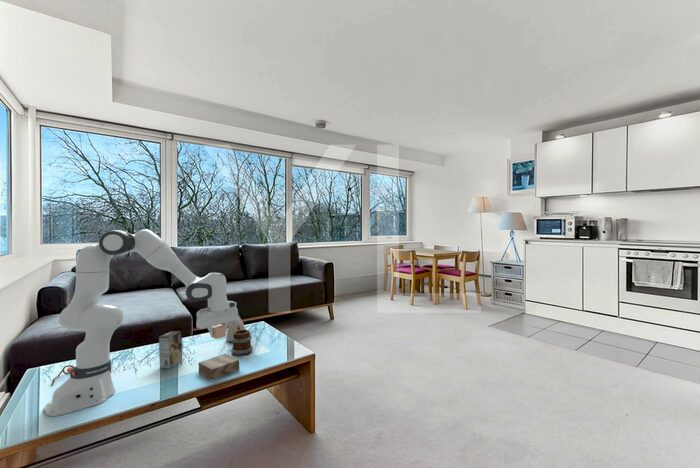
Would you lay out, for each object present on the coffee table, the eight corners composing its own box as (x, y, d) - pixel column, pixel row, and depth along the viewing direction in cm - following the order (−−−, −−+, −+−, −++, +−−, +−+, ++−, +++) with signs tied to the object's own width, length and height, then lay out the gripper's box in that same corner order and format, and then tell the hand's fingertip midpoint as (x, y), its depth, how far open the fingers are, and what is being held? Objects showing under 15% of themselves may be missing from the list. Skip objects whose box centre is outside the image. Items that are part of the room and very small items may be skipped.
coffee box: (172, 360, 173) (171, 330, 173) (182, 361, 172) (182, 331, 172) (159, 367, 164) (158, 336, 164) (170, 368, 163) (169, 337, 163)
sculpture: (232, 335, 212) (231, 312, 212) (249, 335, 211) (249, 313, 211) (222, 342, 199) (222, 318, 199) (241, 342, 198) (240, 318, 198)
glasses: (96, 370, 163) (95, 360, 163) (86, 382, 151) (85, 371, 151) (63, 375, 158) (63, 365, 158) (50, 387, 146) (49, 376, 146)
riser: (212, 380, 150) (212, 369, 150) (198, 372, 158) (198, 362, 158) (239, 369, 161) (239, 359, 160) (225, 363, 169) (225, 353, 169)
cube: (216, 339, 156) (216, 328, 155) (211, 336, 159) (210, 326, 158) (225, 336, 159) (225, 326, 159) (220, 334, 163) (220, 324, 162)
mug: (233, 358, 174) (231, 329, 176) (228, 354, 186) (227, 327, 188) (255, 353, 180) (253, 326, 182) (249, 350, 192) (247, 324, 194)
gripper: (199, 311, 148) (200, 340, 149) (239, 302, 164) (240, 329, 165) (193, 309, 152) (194, 338, 153) (232, 300, 168) (233, 326, 169)
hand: (218, 333), depth 159 cm, fingers closed on cube, 5 cm apart
